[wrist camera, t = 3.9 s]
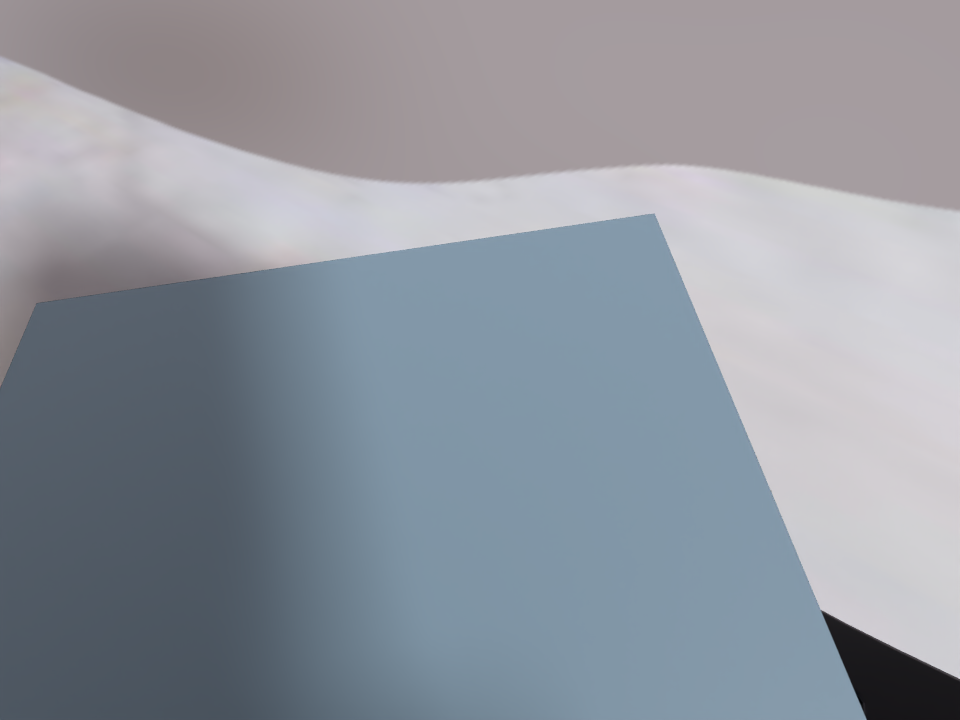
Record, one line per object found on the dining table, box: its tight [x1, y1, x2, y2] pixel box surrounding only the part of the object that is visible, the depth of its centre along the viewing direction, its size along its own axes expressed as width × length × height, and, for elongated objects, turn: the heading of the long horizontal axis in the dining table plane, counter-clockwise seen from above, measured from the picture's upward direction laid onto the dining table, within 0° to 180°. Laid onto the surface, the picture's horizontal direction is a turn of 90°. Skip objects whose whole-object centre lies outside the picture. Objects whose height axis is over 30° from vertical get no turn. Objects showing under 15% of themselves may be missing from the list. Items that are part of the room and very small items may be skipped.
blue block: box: [0, 214, 866, 720], centre depth 8 cm, size 5×5×13 cm
